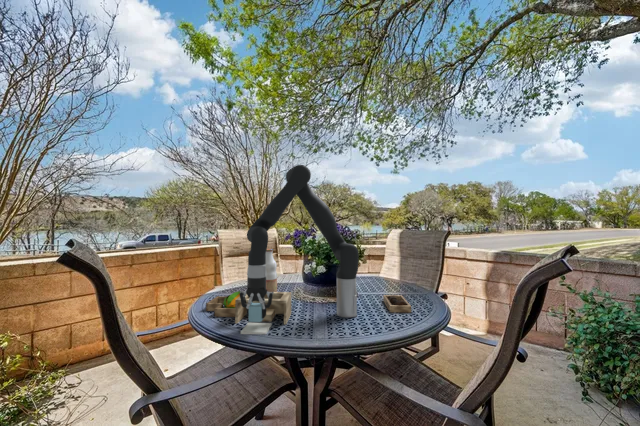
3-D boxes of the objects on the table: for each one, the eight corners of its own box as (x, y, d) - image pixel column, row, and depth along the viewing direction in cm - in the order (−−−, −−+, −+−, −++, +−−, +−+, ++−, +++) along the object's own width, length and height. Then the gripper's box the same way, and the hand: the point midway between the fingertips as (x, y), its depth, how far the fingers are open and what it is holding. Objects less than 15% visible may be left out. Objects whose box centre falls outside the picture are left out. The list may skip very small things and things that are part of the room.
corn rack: (272, 299, 158) (272, 293, 158) (258, 317, 130) (258, 309, 130) (222, 299, 160) (222, 292, 160) (198, 316, 132) (198, 308, 132)
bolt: (390, 306, 153) (404, 314, 139) (382, 301, 153) (395, 309, 138) (395, 296, 154) (409, 303, 139) (387, 292, 153) (400, 298, 139)
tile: (271, 325, 121) (271, 323, 121) (265, 334, 111) (265, 332, 111) (248, 324, 121) (248, 322, 121) (240, 334, 111) (240, 332, 111)
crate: (291, 313, 135) (291, 292, 136) (286, 324, 121) (286, 300, 122) (245, 312, 137) (245, 291, 137) (235, 323, 123) (235, 299, 123)
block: (264, 317, 118) (264, 303, 119) (260, 322, 113) (261, 306, 114) (252, 317, 119) (252, 302, 119) (248, 321, 114) (248, 306, 114)
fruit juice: (275, 302, 152) (275, 250, 153) (257, 302, 153) (257, 250, 153) (278, 297, 162) (278, 248, 162) (262, 297, 162) (262, 248, 163)
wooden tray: (402, 301, 156) (402, 295, 156) (411, 312, 137) (411, 306, 137) (383, 300, 156) (383, 295, 156) (390, 312, 137) (390, 305, 137)
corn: (220, 296, 136) (236, 286, 156) (219, 312, 136) (235, 300, 156) (235, 298, 136) (249, 288, 156) (234, 314, 136) (248, 302, 156)
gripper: (276, 274, 120) (275, 315, 119) (242, 273, 121) (242, 314, 120) (272, 277, 112) (271, 321, 112) (236, 277, 113) (235, 320, 113)
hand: (256, 317), depth 116 cm, fingers closed on block, 5 cm apart
